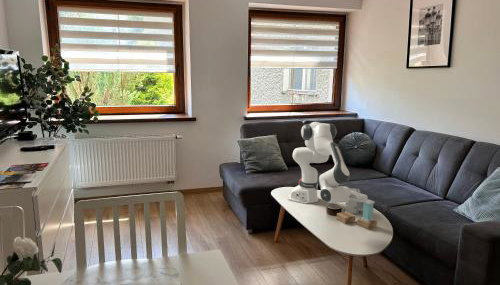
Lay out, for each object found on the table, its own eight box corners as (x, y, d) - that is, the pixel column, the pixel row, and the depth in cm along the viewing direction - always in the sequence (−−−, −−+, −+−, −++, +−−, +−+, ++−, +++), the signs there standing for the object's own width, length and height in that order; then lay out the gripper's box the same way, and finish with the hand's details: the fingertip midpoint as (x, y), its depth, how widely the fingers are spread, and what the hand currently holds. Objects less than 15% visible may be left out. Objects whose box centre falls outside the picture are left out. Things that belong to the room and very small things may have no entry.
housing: (367, 222, 222) (369, 203, 219) (361, 219, 226) (362, 200, 224) (373, 220, 225) (374, 201, 222) (366, 217, 229) (368, 199, 226)
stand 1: (344, 224, 228) (345, 218, 227) (336, 219, 235) (336, 213, 234) (354, 221, 232) (355, 215, 231) (346, 217, 239) (346, 211, 238)
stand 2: (367, 229, 221) (368, 223, 220) (357, 224, 227) (357, 218, 226) (376, 226, 225) (376, 220, 224) (365, 222, 231) (366, 216, 231)
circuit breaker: (368, 214, 243) (370, 193, 240) (345, 212, 246) (347, 191, 243) (367, 210, 250) (368, 189, 247) (345, 208, 253) (346, 188, 250)
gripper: (359, 194, 200) (374, 193, 208) (330, 184, 216) (345, 183, 224) (357, 205, 200) (372, 204, 209) (328, 194, 216) (343, 193, 225)
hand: (358, 193), depth 217 cm, fingers open, 8 cm apart
